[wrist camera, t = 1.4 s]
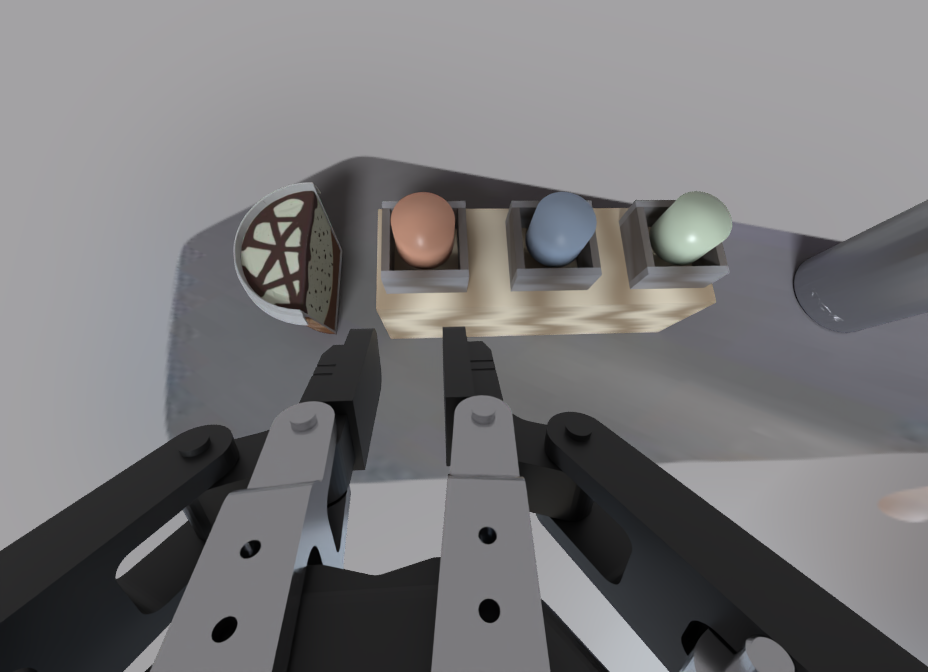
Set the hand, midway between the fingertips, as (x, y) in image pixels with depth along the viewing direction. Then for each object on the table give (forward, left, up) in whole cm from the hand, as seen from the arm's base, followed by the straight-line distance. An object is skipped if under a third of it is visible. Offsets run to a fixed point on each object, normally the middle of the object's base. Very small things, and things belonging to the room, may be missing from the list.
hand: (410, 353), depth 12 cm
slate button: (-15, -5, -15) cm, 21 cm away
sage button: (-23, 0, -15) cm, 28 cm away
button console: (-15, -5, -26) cm, 30 cm away
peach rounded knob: (-6, -10, -15) cm, 19 cm away
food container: (+4, -17, -26) cm, 32 cm away
